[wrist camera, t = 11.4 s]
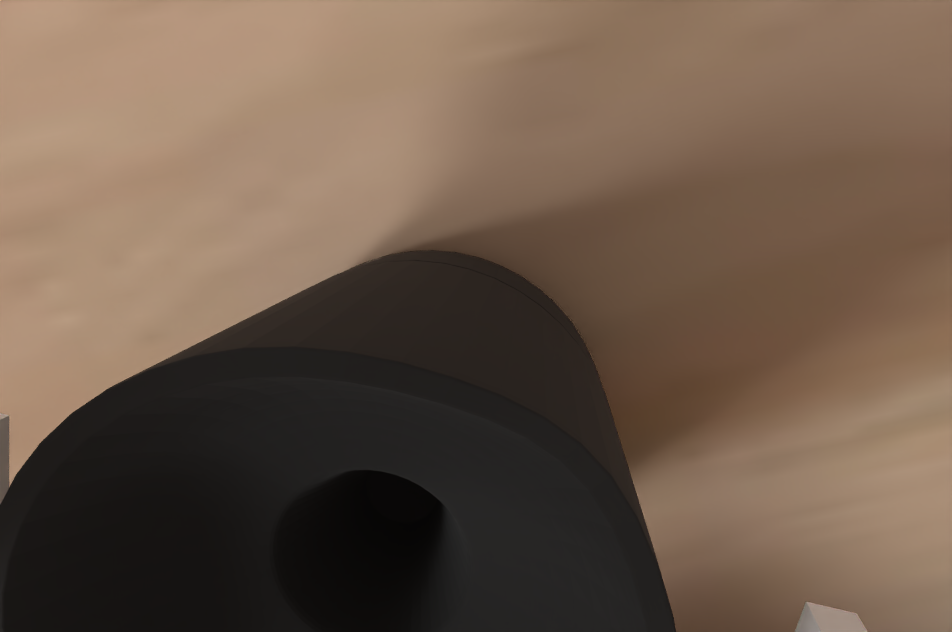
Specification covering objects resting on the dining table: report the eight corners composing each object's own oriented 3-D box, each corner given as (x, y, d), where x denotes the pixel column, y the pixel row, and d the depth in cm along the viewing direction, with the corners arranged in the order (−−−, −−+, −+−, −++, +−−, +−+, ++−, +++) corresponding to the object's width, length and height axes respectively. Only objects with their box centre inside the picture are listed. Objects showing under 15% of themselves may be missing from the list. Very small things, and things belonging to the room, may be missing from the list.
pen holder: (638, 248, 17) (743, 393, 8) (595, 582, 20) (633, 1014, 10) (266, 216, 18) (-66, 310, 8) (268, 541, 20) (12, 904, 11)
